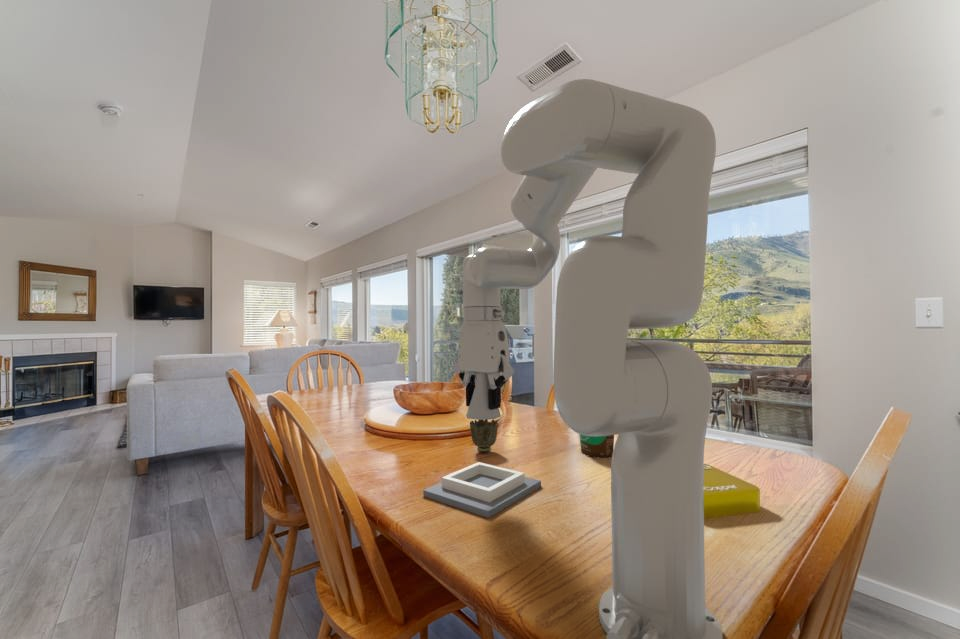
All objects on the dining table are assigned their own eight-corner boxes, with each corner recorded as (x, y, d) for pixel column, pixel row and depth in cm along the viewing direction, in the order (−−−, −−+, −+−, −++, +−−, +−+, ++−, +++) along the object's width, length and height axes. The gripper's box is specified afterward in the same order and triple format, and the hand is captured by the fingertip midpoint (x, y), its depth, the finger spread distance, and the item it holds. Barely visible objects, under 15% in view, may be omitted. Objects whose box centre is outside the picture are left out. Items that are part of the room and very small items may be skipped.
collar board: (488, 518, 75) (488, 499, 75) (423, 496, 85) (423, 479, 85) (541, 486, 89) (540, 470, 89) (480, 470, 99) (479, 456, 99)
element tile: (691, 522, 74) (691, 494, 74) (641, 489, 88) (641, 465, 88) (766, 513, 77) (765, 486, 77) (705, 483, 91) (705, 460, 91)
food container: (566, 449, 115) (566, 411, 115) (585, 446, 118) (584, 409, 118) (597, 462, 104) (596, 420, 104) (617, 458, 107) (616, 418, 107)
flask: (498, 421, 83) (497, 369, 83) (461, 420, 84) (461, 369, 84) (503, 414, 90) (503, 365, 90) (469, 413, 91) (469, 365, 91)
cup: (464, 454, 112) (464, 423, 112) (478, 446, 118) (477, 417, 119) (490, 458, 108) (490, 426, 109) (503, 450, 115) (502, 420, 115)
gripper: (527, 315, 85) (529, 408, 85) (461, 317, 95) (462, 400, 95) (506, 315, 79) (507, 415, 79) (438, 317, 90) (439, 405, 89)
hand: (483, 406), depth 87 cm, fingers closed on flask, 5 cm apart
